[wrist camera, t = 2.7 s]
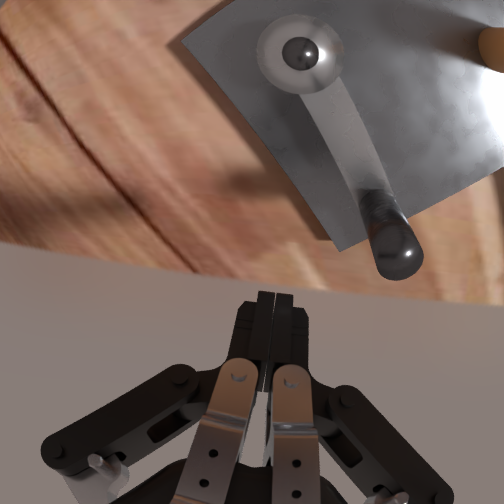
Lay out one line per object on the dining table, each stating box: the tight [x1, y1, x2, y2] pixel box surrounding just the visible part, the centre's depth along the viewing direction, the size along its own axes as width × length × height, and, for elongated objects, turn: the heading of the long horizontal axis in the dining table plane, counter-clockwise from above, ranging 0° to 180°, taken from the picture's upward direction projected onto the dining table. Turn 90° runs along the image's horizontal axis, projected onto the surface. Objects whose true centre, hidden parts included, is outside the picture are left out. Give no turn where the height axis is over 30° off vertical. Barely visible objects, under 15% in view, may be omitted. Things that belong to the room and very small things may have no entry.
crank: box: [256, 14, 424, 281], centre depth 14 cm, size 16×4×7 cm, turn 32°
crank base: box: [181, 0, 504, 252], centre depth 15 cm, size 18×21×2 cm
